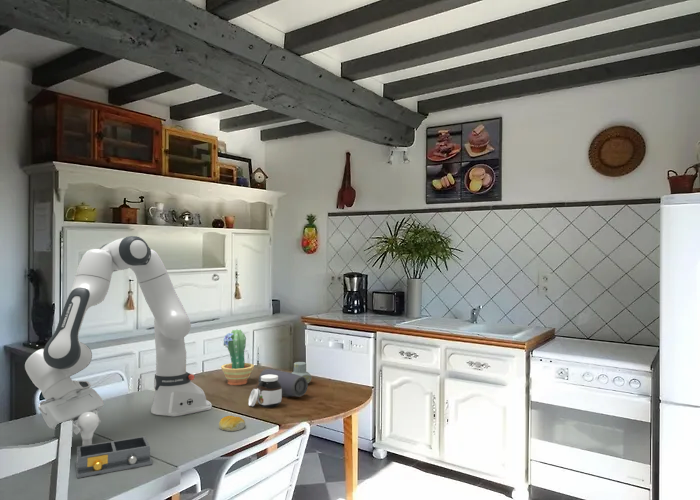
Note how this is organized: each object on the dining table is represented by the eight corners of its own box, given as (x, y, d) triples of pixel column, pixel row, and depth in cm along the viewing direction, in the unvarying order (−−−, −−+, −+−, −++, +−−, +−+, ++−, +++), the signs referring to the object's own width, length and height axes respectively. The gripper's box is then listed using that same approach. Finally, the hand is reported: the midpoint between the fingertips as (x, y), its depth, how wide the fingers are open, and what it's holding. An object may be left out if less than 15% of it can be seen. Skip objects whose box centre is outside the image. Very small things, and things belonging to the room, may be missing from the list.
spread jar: (284, 405, 204) (284, 376, 204) (261, 411, 196) (262, 381, 196) (266, 400, 212) (266, 372, 212) (243, 405, 204) (243, 376, 204)
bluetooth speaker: (308, 397, 217) (309, 373, 217) (292, 401, 210) (293, 377, 210) (273, 388, 232) (273, 366, 232) (257, 392, 225) (257, 369, 225)
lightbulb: (88, 452, 154) (89, 415, 154) (70, 450, 155) (71, 414, 155) (103, 444, 160) (103, 409, 160) (85, 443, 161) (86, 408, 161)
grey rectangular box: (145, 450, 156) (145, 435, 156) (151, 464, 145) (152, 449, 145) (75, 462, 146) (76, 446, 146) (77, 478, 136) (77, 461, 136)
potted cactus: (223, 379, 247) (223, 327, 248) (255, 378, 249) (255, 327, 249) (218, 387, 232) (219, 332, 232) (252, 386, 234) (253, 332, 234)
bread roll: (230, 422, 184) (230, 411, 184) (248, 427, 179) (249, 415, 179) (213, 428, 177) (213, 417, 177) (231, 433, 172) (231, 421, 172)
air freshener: (303, 380, 246) (303, 360, 246) (314, 384, 240) (314, 362, 240) (285, 384, 239) (285, 363, 239) (295, 387, 232) (295, 366, 233)
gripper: (42, 396, 149) (69, 433, 147) (92, 380, 169) (117, 412, 167) (29, 410, 150) (56, 447, 148) (80, 392, 170) (105, 424, 168)
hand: (89, 428), depth 157 cm, fingers closed on lightbulb, 6 cm apart
